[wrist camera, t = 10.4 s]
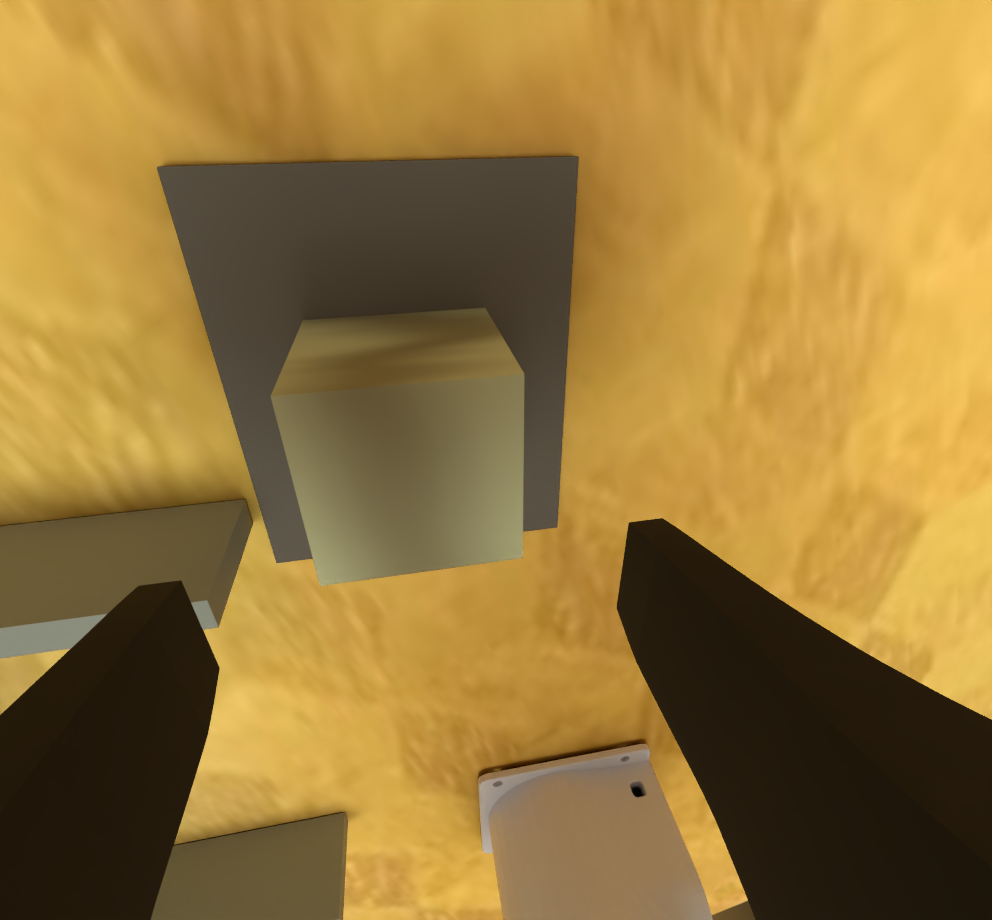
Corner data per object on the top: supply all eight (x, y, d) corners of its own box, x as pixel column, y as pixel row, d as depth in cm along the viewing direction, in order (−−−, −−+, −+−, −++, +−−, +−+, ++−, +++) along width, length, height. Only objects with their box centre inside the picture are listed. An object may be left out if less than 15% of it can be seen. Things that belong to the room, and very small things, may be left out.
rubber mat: (574, 156, 14) (578, 156, 14) (554, 520, 20) (557, 527, 20) (162, 166, 13) (156, 167, 12) (278, 555, 19) (276, 562, 18)
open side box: (245, 499, 17) (207, 600, 14) (347, 821, 28) (342, 927, 25) (-207, 548, 16) (-394, 681, 12) (89, 873, 27) (41, 995, 23)
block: (485, 307, 15) (524, 373, 11) (489, 458, 18) (522, 557, 14) (302, 320, 14) (270, 396, 10) (335, 475, 17) (319, 585, 13)
